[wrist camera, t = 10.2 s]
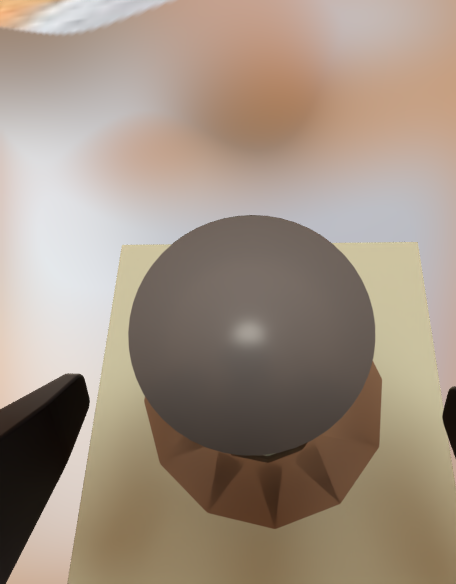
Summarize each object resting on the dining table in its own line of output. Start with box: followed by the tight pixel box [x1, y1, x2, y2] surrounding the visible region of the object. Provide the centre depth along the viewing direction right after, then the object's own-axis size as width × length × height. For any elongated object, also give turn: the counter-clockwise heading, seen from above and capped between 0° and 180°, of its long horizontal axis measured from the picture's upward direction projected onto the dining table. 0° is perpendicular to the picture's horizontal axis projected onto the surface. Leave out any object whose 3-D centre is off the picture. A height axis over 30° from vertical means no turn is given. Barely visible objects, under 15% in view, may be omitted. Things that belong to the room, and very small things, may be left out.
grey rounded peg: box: [128, 215, 375, 456], centre depth 11 cm, size 3×3×13 cm
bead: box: [144, 361, 382, 529], centre depth 15 cm, size 9×9×3 cm
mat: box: [67, 242, 456, 584], centre depth 17 cm, size 16×16×1 cm
